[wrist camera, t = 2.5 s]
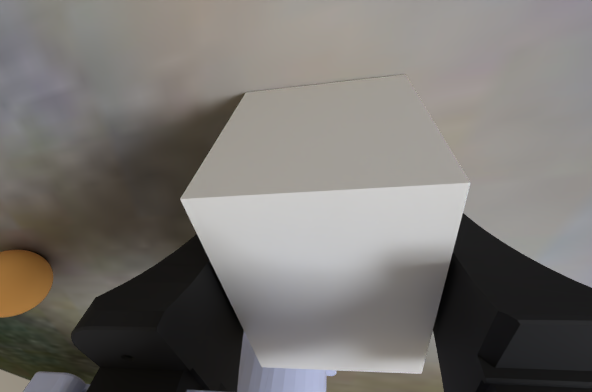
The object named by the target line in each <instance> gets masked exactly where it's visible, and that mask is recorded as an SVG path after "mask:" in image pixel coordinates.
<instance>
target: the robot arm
mask: <svg viewBox="0 0 592 392" xmlns="http://www.w3.org/2000/svg"><path fill="white" fill-rule="evenodd" d="M433 332H434V337H435V342H436V348H437V353H438V359H439V364H440V370H441V376H442V382H443V388H444V392H592V288H591V287H588V286H586V285H584V284H581V283H579V282H577V281H574V280H572V279H570V278H568V277H566V276H564V275H562V274H559V273H557V272H555V271H553V270H551V269H549V268H547V267H545V266H543V265H541V264H540V263H538V262H536V261H534V260H532V259H530V258H528V257H527V256H525V255H523V254H521V253H520V252H518V251H516V250H515V249H513V248H511V247H510V246H508V245H506V244H505V243H503V242H502V241H500V240H499V239H497V238H496V237H494V236H493V235H491V234H490V233H488V232H487V231H485V230H484V229H483V228H481V227H480V226H478V225H477V224H476V223H475V222H473V221H472V220H471V219H470V218H468V217H467V216H466V215H465V214H462V218H461V222H460V226H459V230H458V234H457V238H456V242H455V245H454V249H453V253H452V257H451V261H450V265H449V269H448V273H447V277H446V280H445V284H444V288H443V292H442V296H441V300H440V304H439V308H438V312H437V316H436V319H435V323H434V327H433ZM71 339H72V341H73V343H74V345H75V346H76V347H77V348H78V349H79V350H80V351H81V352H82V353H84V354H85V355H86V356H87V357H88V358H90V359H91V360H92V361H93V362H95V363H96V364H97V365H98V366H100V368H99V370H98V372H97V373H96V375H95V377H94V379H93V381H92V382H91V384H85V382H84V381H83V380H82V379H81V378H79V377H77V376H75V375H73V374H70V373H62V372H41V371H40V372H37V373H36V374H35V375H34V376H33V378H32V379H31V381H30V382H29V384H28V385H27V386H26V388H25V389H24V391H23V392H326V376H334V375H336V370H316V369H291V368H266V367H261V365H260V363H259V361H258V359H257V357H256V354H255V352H254V350H253V348H252V346H251V344H250V342H249V340H248V338H247V336H246V334H245V332H244V330H243V328H242V326H241V324H240V322H239V319H238V317H237V315H236V313H235V311H234V309H233V307H232V305H231V303H230V301H229V299H228V297H227V295H226V293H225V291H224V289H223V287H222V284H221V282H220V280H219V278H218V276H217V274H216V272H215V270H214V268H213V266H212V264H211V262H210V260H209V258H208V256H207V254H206V251H205V249H204V247H203V245H202V243H201V241H200V239H199V237H198V235H197V234H196V235H195V236H194V237H193V238H191V239H190V240H189V241H188V242H187V243H185V244H184V245H183V246H182V247H180V248H179V249H178V250H176V251H175V252H174V253H172V254H171V255H169V256H168V257H166V258H165V259H163V260H162V261H161V262H159V263H158V264H156V265H155V266H153V267H151V268H150V269H148V270H147V271H145V272H143V273H142V274H140V275H138V276H136V277H135V278H133V279H131V280H129V281H128V282H126V283H124V284H122V285H120V286H118V287H116V288H114V289H112V290H110V291H108V292H106V293H104V294H102V295H100V296H98V297H96V298H95V299H94V301H93V302H92V304H91V305H90V307H89V308H88V309H87V311H86V312H85V314H84V315H83V317H82V318H81V320H80V321H79V323H78V324H77V326H76V327H75V328H74V330H73V331H72V334H71Z"/></svg>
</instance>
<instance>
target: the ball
mask: <svg viewBox="0 0 592 392" xmlns="http://www.w3.org/2000/svg"><path fill="white" fill-rule="evenodd" d="M52 283H53V271H52V268H51V266H50V264H49V263H48V262H47V261H46V260H45V259H44V258H43V257H42V256H40V255H38V254H36V253H34V252H31V251H26V250H8V251H3V252H0V317H10V316H15V315H18V314H22V313H24V312H26V311H28V310H30V309H32V308H34V307H35V306H37V305H38V304H39V303H40V302H41V301H42V300H43V299H44V298H45V297H46V296H47V294H48V293H49V291H50V289H51V286H52Z"/></svg>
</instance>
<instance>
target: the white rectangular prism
mask: <svg viewBox="0 0 592 392" xmlns="http://www.w3.org/2000/svg"><path fill="white" fill-rule="evenodd" d="M469 187H470V181H469V179H468V178H467V176H466V174H465V172H464V171H463V169H462V167H461V166H460V164H459V162H458V161H457V159H456V157H455V156H454V154H453V152H452V151H451V149H450V147H449V146H448V144H447V142H446V141H445V139H444V137H443V136H442V134H441V132H440V130H439V129H438V127H437V125H436V124H435V122H434V120H433V119H432V117H431V115H430V114H429V112H428V110H427V109H426V107H425V105H424V104H423V102H422V100H421V99H420V97H419V95H418V93H417V92H416V90H415V88H414V87H413V85H412V83H411V82H410V80H409V78H408V77H407V75H406V74H404V75H395V76H387V77H378V78H369V79H360V80H351V81H343V82H334V83H325V84H316V85H307V86H299V87H290V88H281V89H272V90H263V91H255V92H246V93H245V95H244V96H243V98H242V100H241V101H240V103H239V104H238V106H237V108H236V109H235V111H234V113H233V114H232V116H231V117H230V119H229V121H228V122H227V124H226V126H225V127H224V129H223V130H222V132H221V134H220V135H219V137H218V138H217V140H216V142H215V143H214V145H213V147H212V148H211V150H210V151H209V153H208V155H207V156H206V158H205V159H204V161H203V163H202V164H201V166H200V168H199V169H198V171H197V172H196V174H195V176H194V177H193V179H192V180H191V182H190V184H189V185H188V187H187V189H186V190H185V192H184V193H183V195H182V197H181V198H180V200H181V202H182V204H183V206H184V208H185V210H186V212H187V214H188V216H189V219H190V221H191V223H192V225H193V227H194V229H195V231H196V233H197V235H198V237H199V239H200V241H201V243H202V245H203V247H204V249H205V251H206V254H207V256H208V258H209V260H210V262H211V264H212V266H213V268H214V270H215V272H216V274H217V276H218V278H219V280H220V282H221V284H222V287H223V289H224V291H225V293H226V295H227V297H228V299H229V301H230V303H231V305H232V307H233V309H234V311H235V313H236V315H237V317H238V319H239V322H240V324H241V326H242V328H243V330H244V332H245V334H246V336H247V338H248V340H249V342H250V344H251V346H252V348H253V350H254V352H255V354H256V357H257V359H258V361H259V363H260V365H261V367H266V368H291V369H316V370H341V371H365V372H390V373H415V374H422V370H423V366H424V362H425V358H426V354H427V351H428V347H429V343H430V339H431V335H432V331H433V327H434V323H435V319H436V316H437V312H438V308H439V304H440V300H441V296H442V292H443V288H444V284H445V280H446V277H447V273H448V269H449V265H450V261H451V257H452V253H453V249H454V245H455V242H456V238H457V234H458V230H459V226H460V222H461V218H462V214H463V210H464V207H465V203H466V199H467V195H468V191H469Z"/></svg>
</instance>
